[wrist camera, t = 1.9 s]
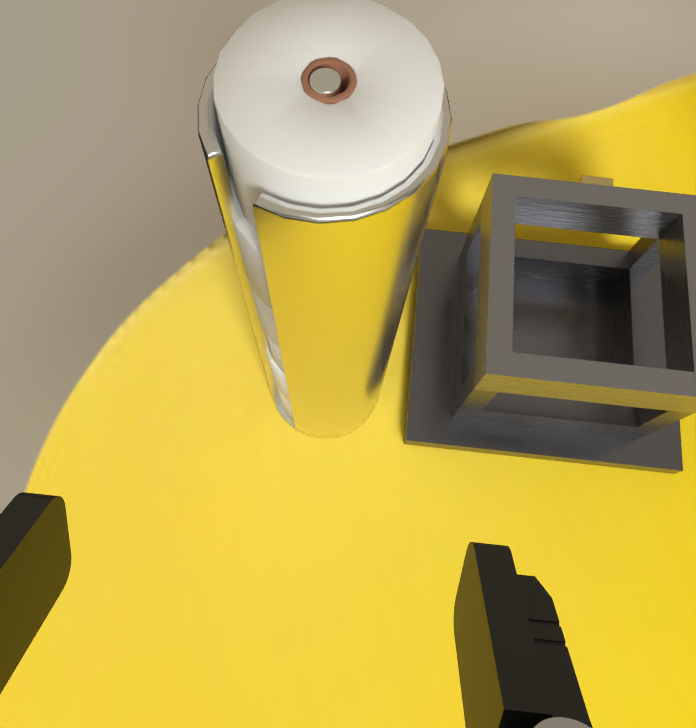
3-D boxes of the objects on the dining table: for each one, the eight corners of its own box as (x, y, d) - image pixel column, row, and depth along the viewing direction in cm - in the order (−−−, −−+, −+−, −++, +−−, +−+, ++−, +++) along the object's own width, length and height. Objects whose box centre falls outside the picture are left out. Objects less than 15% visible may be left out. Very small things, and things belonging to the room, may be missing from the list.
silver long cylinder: (262, 347, 40) (169, -3, 16) (365, 327, 40) (420, -39, 17) (283, 449, 38) (211, 220, 14) (390, 426, 38) (494, 169, 15)
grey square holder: (660, 262, 42) (750, 176, 33) (674, 473, 38) (782, 438, 29) (419, 236, 43) (445, 143, 34) (404, 443, 38) (428, 400, 29)
